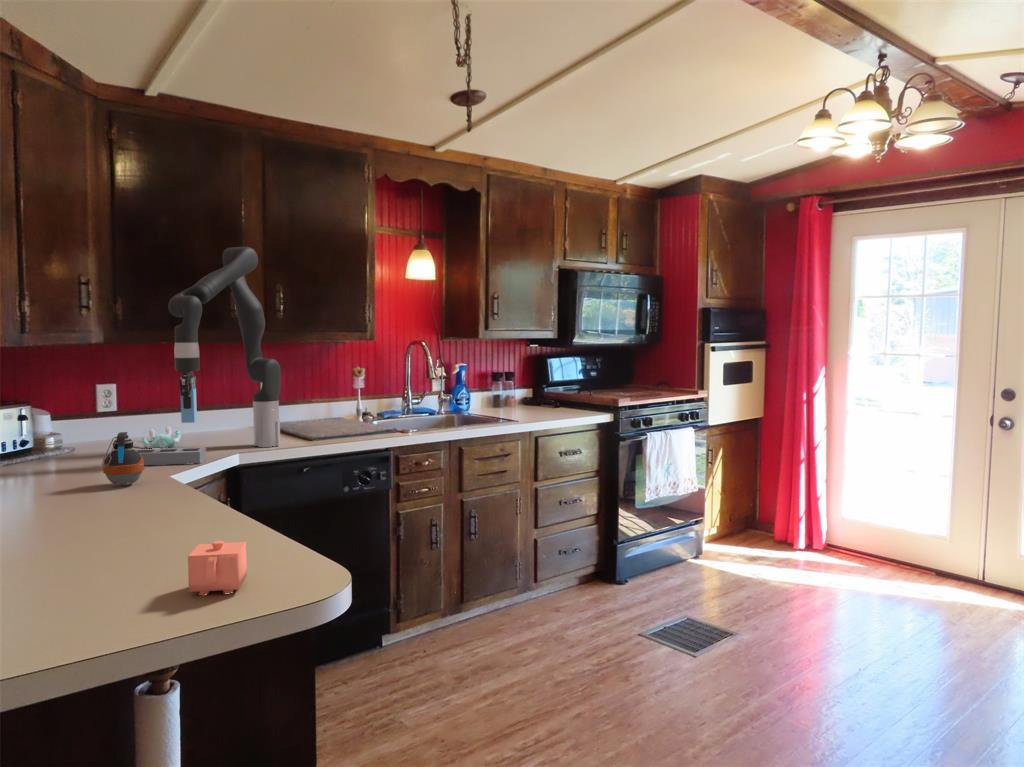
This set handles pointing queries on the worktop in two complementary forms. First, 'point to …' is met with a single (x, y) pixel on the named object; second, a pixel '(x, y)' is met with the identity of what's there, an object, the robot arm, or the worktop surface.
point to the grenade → (123, 462)
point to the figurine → (161, 439)
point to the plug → (191, 413)
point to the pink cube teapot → (217, 567)
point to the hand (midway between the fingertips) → (188, 407)
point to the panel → (173, 455)
